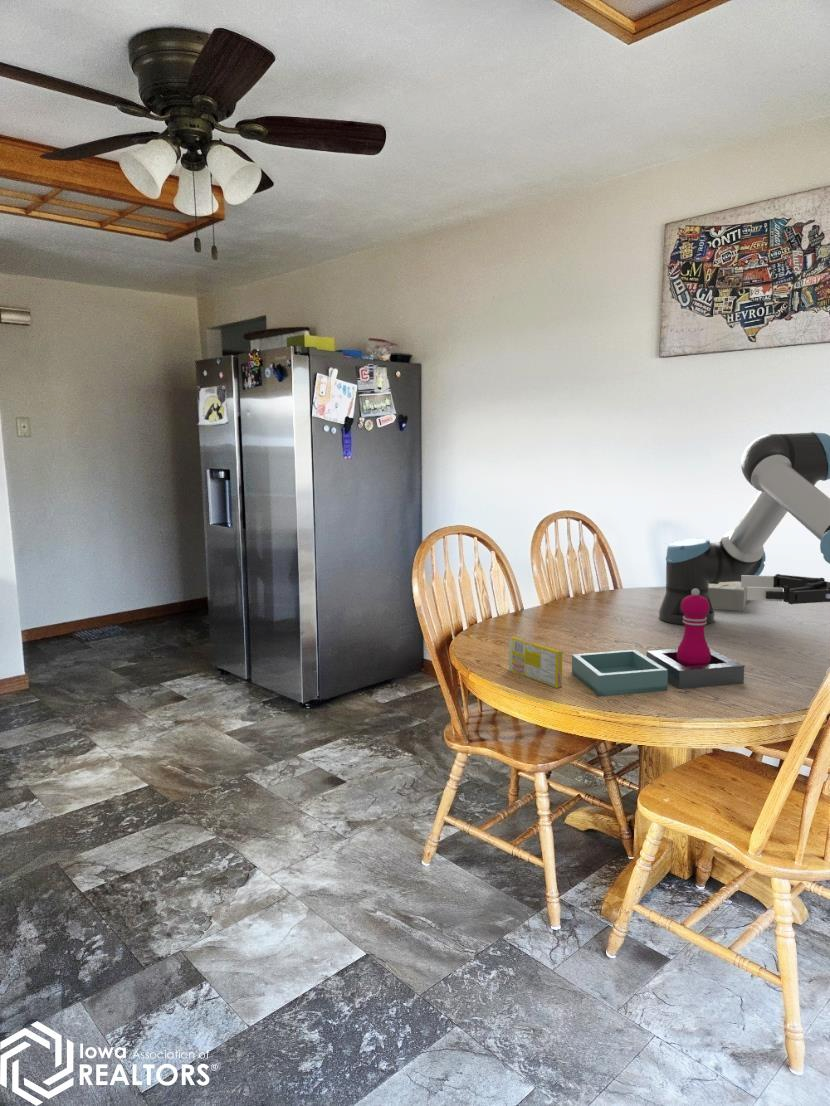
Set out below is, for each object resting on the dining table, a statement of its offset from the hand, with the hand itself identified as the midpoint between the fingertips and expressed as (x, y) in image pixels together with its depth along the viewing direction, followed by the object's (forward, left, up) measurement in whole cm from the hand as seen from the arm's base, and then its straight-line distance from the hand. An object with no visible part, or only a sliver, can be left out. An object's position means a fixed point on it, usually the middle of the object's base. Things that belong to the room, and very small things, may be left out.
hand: (744, 587), depth 154 cm
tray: (+27, -5, -21) cm, 34 cm away
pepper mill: (+9, -5, -21) cm, 23 cm away
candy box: (+44, -11, -21) cm, 50 cm away
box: (-37, -74, -21) cm, 86 cm away
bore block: (+9, -5, -21) cm, 23 cm away
